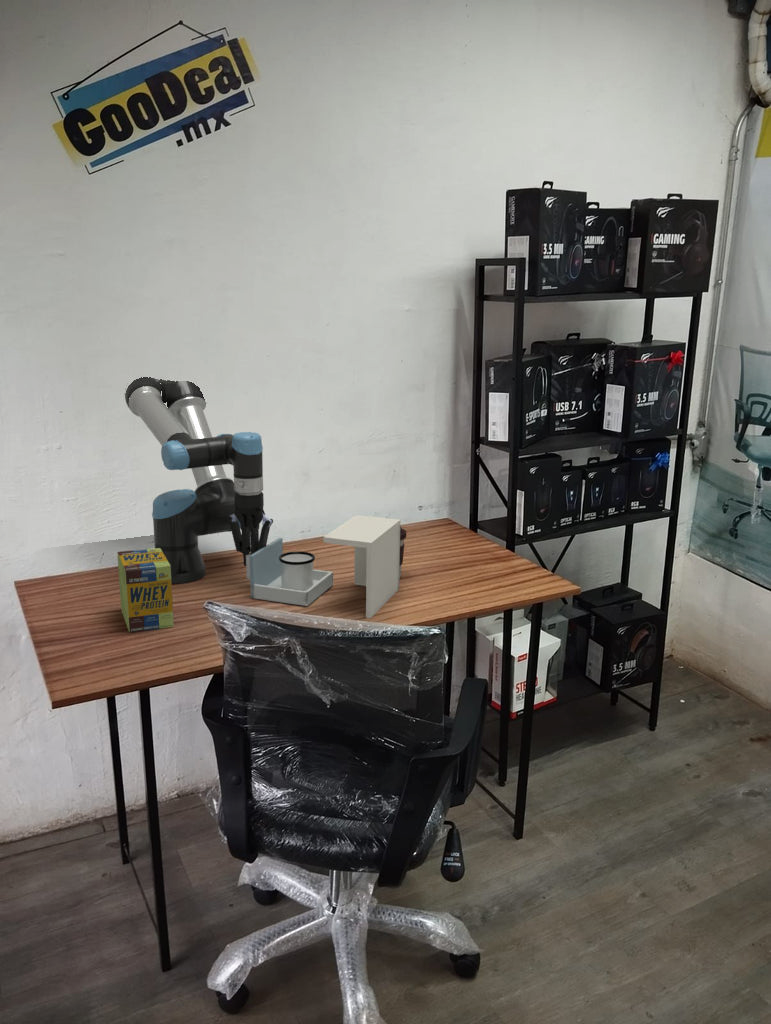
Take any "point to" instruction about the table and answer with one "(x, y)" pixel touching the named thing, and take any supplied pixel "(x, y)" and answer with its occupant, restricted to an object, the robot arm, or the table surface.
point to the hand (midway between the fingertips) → (251, 577)
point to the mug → (297, 570)
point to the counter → (372, 556)
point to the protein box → (145, 589)
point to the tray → (269, 578)
